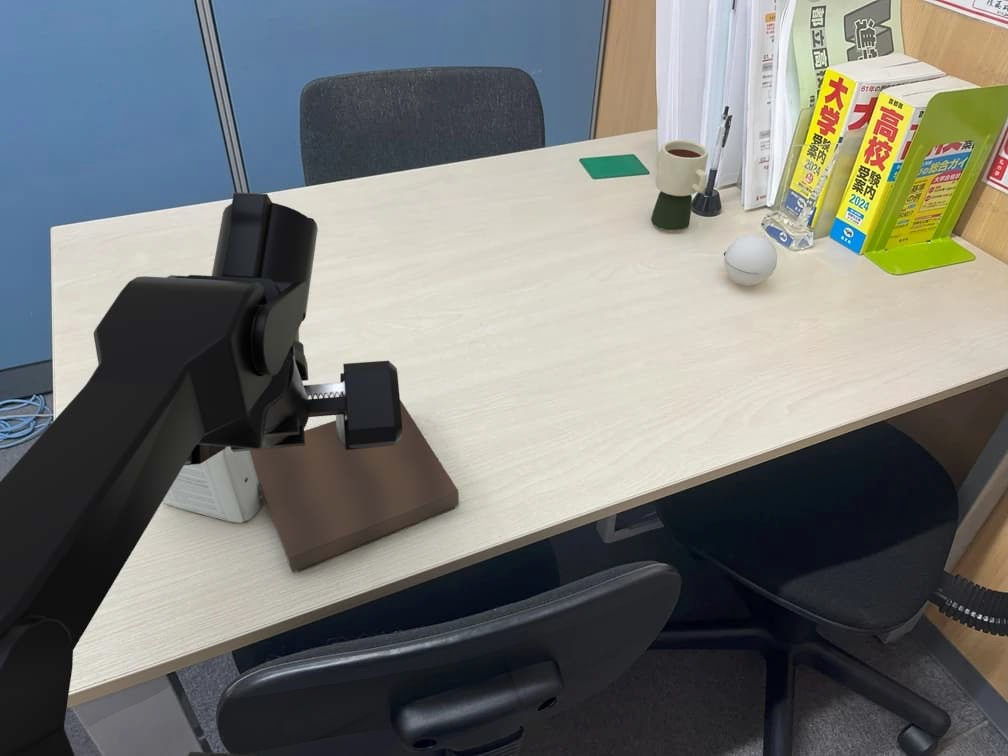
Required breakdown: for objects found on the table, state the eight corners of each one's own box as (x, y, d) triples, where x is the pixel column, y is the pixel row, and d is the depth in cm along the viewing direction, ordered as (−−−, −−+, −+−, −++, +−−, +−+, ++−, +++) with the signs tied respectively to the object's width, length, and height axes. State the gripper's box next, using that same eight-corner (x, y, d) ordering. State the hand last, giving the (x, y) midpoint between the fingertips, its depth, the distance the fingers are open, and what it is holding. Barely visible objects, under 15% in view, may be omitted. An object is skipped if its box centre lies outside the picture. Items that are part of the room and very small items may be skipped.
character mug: (708, 234, 115) (727, 158, 106) (674, 245, 112) (691, 167, 104) (664, 206, 122) (679, 132, 113) (631, 215, 119) (644, 140, 110)
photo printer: (270, 496, 72) (244, 408, 64) (248, 529, 69) (218, 441, 61) (180, 474, 74) (144, 385, 66) (155, 505, 71) (114, 416, 62)
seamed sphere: (749, 264, 109) (762, 221, 104) (779, 290, 103) (795, 246, 99) (693, 275, 106) (704, 231, 101) (722, 302, 100) (734, 258, 96)
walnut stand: (292, 574, 65) (288, 558, 64) (251, 465, 75) (246, 449, 73) (459, 506, 72) (458, 490, 70) (401, 414, 81) (399, 398, 80)
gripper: (392, 263, 49) (387, 336, 63) (94, 276, 45) (163, 350, 60) (407, 422, 46) (398, 460, 61) (91, 449, 42) (164, 483, 57)
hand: (283, 434), depth 59 cm, fingers open, 9 cm apart
